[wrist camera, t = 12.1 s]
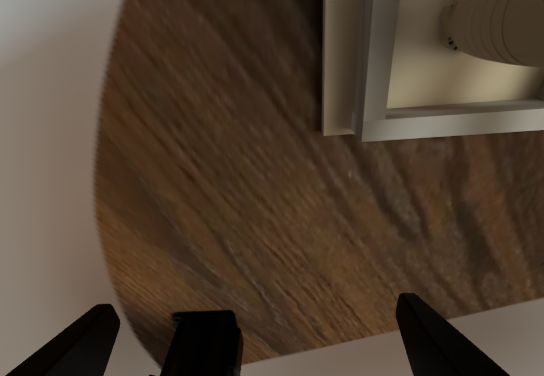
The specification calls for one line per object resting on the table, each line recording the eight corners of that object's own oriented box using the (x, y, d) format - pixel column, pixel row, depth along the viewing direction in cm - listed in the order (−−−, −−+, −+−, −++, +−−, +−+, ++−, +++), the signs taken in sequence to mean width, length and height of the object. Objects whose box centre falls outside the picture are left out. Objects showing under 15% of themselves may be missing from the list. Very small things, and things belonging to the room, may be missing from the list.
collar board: (321, 131, 19) (330, 148, 16) (324, -136, 13) (339, -191, 10) (561, 115, 18) (619, 129, 15) (685, -178, 12) (824, -254, 9)
